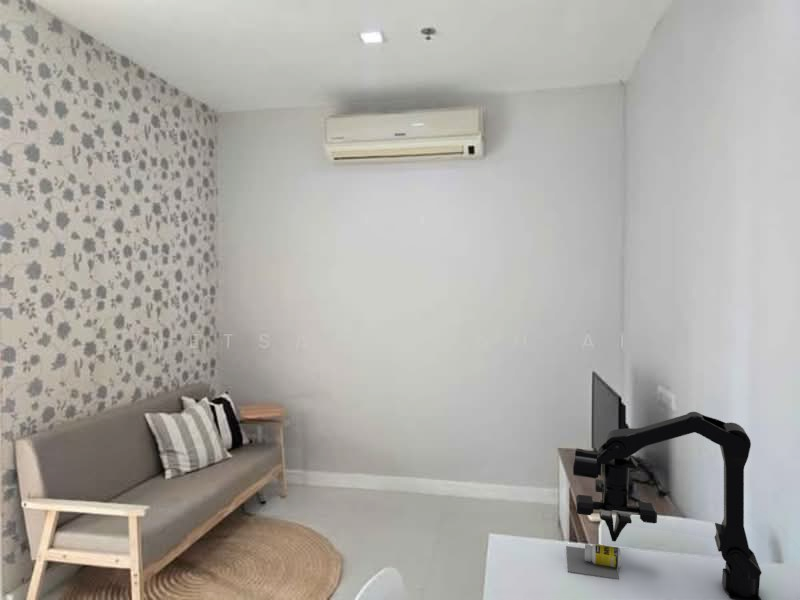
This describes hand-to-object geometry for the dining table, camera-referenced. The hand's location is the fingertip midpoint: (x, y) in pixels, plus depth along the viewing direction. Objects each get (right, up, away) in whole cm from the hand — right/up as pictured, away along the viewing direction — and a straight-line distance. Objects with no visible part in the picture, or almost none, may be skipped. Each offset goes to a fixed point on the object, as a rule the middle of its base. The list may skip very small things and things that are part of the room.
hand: (613, 540), depth 137 cm
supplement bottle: (+2, -4, -1) cm, 4 cm away
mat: (-5, -7, +2) cm, 8 cm away
